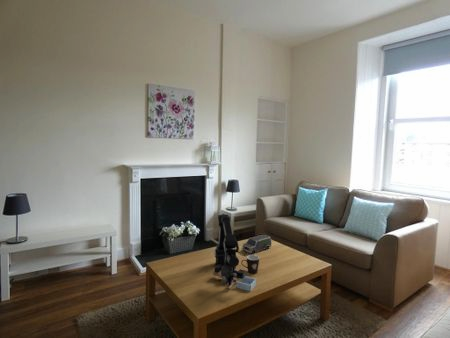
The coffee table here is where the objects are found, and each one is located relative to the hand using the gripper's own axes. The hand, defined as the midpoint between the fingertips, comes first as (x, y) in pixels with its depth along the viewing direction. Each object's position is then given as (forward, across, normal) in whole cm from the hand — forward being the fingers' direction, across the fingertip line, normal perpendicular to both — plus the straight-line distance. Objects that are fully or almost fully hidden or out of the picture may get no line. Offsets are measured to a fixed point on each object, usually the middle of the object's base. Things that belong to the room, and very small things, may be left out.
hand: (229, 285), depth 162 cm
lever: (+1, -7, +4) cm, 8 cm away
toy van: (+2, -7, +66) cm, 66 cm away
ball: (-3, -12, +8) cm, 14 cm away
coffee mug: (+3, +2, +27) cm, 27 cm away
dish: (+2, +7, +8) cm, 11 cm away
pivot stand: (+2, -6, +8) cm, 10 cm away
